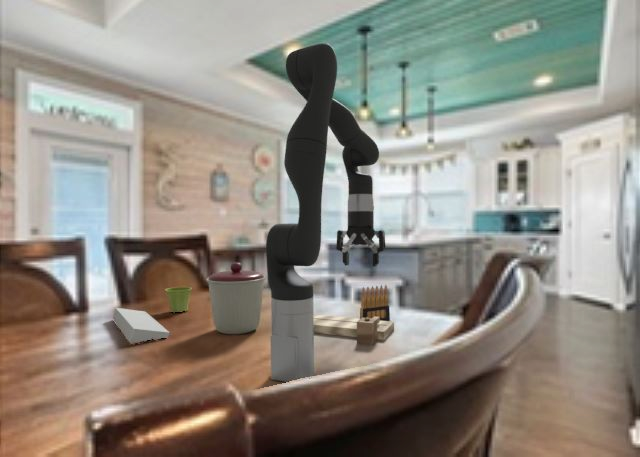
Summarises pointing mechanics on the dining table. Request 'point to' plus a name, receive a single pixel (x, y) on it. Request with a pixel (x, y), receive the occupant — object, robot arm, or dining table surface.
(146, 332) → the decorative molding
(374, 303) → the ammunition clip
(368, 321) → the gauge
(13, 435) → the dining table surface
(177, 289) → the plant pot
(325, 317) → the board
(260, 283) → the canister
